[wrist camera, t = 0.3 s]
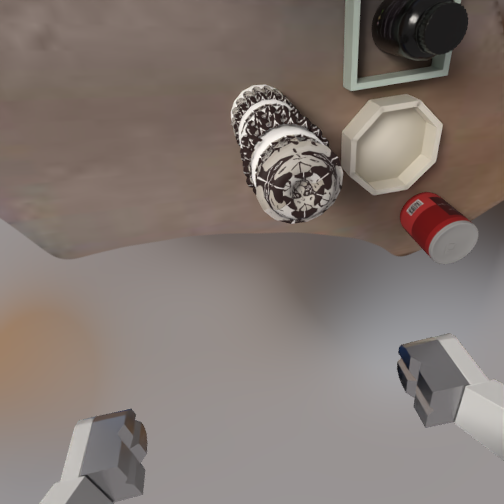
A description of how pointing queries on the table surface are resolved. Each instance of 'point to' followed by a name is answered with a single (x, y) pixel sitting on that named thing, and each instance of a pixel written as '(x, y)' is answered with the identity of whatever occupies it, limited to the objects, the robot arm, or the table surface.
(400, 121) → the bowl
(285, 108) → the decorative candle
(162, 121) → the table surface
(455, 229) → the canned food
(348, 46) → the tray
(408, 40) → the supplement bottle
